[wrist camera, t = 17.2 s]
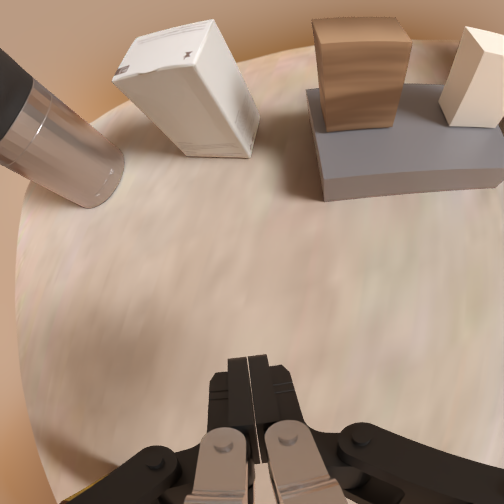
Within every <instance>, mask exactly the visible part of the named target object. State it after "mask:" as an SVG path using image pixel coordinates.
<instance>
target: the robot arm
mask: <svg viewBox="0 0 504 504" xmlns="http://www.w3.org/2000/svg"><path fill="white" fill-rule="evenodd" d="M0 164H1V165H2V166H5V167H6V168H8V169H10V170H12V171H14V172H16V173H18V174H20V175H22V176H23V177H25V178H27V179H29V180H31V181H33V182H35V183H37V184H39V185H41V186H43V187H45V188H46V189H48V190H50V191H52V192H54V193H56V194H58V195H60V196H62V197H64V198H66V199H68V200H70V201H72V202H74V203H76V204H78V205H80V206H82V207H84V208H93V207H96V206H98V205H100V204H101V203H103V202H104V201H105V200H106V199H108V198H109V197H110V195H111V194H112V193H113V192H114V190H115V189H116V187H117V185H118V184H119V182H120V179H121V177H122V173H123V170H124V157H123V154H122V152H121V151H120V150H119V149H118V148H117V147H116V146H115V145H114V144H112V143H111V142H110V141H109V140H107V139H106V138H105V137H104V136H103V135H102V134H100V133H99V132H98V131H97V130H96V129H94V128H93V127H92V126H91V125H90V124H88V123H87V122H86V121H85V120H84V119H82V118H81V117H80V116H79V115H77V114H76V113H75V112H74V111H73V110H71V109H70V108H69V107H68V106H67V105H65V104H64V103H63V102H62V101H61V100H59V99H58V98H57V97H56V96H54V94H52V93H51V92H50V91H48V90H47V89H46V88H45V87H44V86H42V85H41V84H40V83H39V82H38V81H37V80H35V79H34V78H33V77H32V76H31V75H29V74H28V73H27V72H26V71H25V70H24V69H22V68H21V67H20V66H19V65H18V64H17V63H16V62H15V61H14V60H13V59H12V58H11V57H10V56H9V55H8V54H6V53H5V52H4V51H2V49H1V48H0ZM248 362H249V370H250V378H249V372H248V365H247V358H246V357H240V358H231V359H228V372H218V373H215V375H214V376H213V378H212V379H211V381H210V387H209V405H208V425H207V434H206V435H204V437H203V438H202V440H201V442H200V443H199V444H198V445H196V446H195V447H193V448H190V449H187V450H183V451H179V452H176V453H174V452H173V451H172V450H171V449H169V448H167V447H164V446H150V447H146V448H144V449H143V450H141V451H140V452H138V453H137V454H136V455H134V456H133V457H132V458H130V459H129V460H128V461H126V462H125V463H124V464H122V465H121V466H120V467H118V468H117V469H115V470H114V471H113V472H111V473H110V474H108V475H107V476H106V477H104V478H103V479H101V480H100V481H99V482H97V483H96V484H94V485H93V486H91V487H90V488H88V489H87V490H85V491H84V492H82V493H81V494H79V495H78V496H76V497H75V498H73V499H72V500H70V501H69V502H67V503H65V504H255V468H254V464H260V458H259V450H258V442H257V435H258V441H259V447H260V453H261V460H262V463H268V468H269V474H270V481H271V485H272V489H273V493H274V497H275V501H276V504H348V503H347V500H346V498H348V499H350V500H352V501H354V502H356V503H358V504H504V469H501V468H497V467H493V466H490V465H486V464H482V463H479V462H475V461H472V460H468V459H465V458H462V457H459V456H455V455H452V454H449V453H446V452H443V451H440V450H437V449H434V448H432V447H429V446H426V445H423V444H420V443H418V442H415V441H412V440H410V439H407V438H405V437H402V436H400V435H397V434H395V433H392V432H390V431H387V430H385V429H382V428H380V427H378V426H375V425H373V424H370V423H364V422H361V423H354V424H351V425H349V426H347V427H345V428H344V429H343V430H342V431H341V433H324V432H319V431H316V430H314V429H312V428H310V427H309V426H308V425H307V424H306V423H305V422H304V419H303V416H302V413H301V410H300V406H299V403H298V399H297V396H296V392H295V389H294V386H293V383H292V379H291V375H290V372H289V371H288V370H287V369H286V368H285V367H284V366H282V365H277V366H270V367H269V364H268V359H267V355H266V354H264V355H256V356H248ZM250 379H251V385H250ZM251 388H252V393H251ZM252 396H253V401H252ZM253 405H254V409H253ZM254 413H255V417H254ZM255 421H256V426H255ZM256 428H257V434H256ZM345 497H346V498H345Z"/></svg>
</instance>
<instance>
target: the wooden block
mask: <svg viewBox="0 0 504 504" xmlns="http://www.w3.org/2000/svg"><path fill="white" fill-rule="evenodd" d="M438 102H439V104H440V106H441V109H442V111H443V113H444V115H445V117H446V120H447V122H448V124H449V126H462V127H485V128H496V126H497V125H498V124H499V122H500V121H501V119H502V118H503V116H504V35H501V34H497V33H493V32H489V31H485V30H481V29H476V28H472V27H467V26H465V28H464V31H463V35H462V37H461V41H460V44H459V47H458V50H457V53H456V56H455V59H454V61H453V64H452V67H451V70H450V73H449V75H448V78H447V81H446V83H445V86H444V88H443V91H442V94H441V96H440V99H439V101H438Z"/></svg>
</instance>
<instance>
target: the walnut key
mask: <svg viewBox="0 0 504 504" xmlns="http://www.w3.org/2000/svg"><path fill="white" fill-rule="evenodd" d="M312 27H313V34H314V43H315V51H316V60H317V70H318V80H319V91H320V104H321V110H322V114H323V118H324V122H325V126H326V131H327V132H333V131H343V130H354V129H367V128H383V127H393V123H394V120H395V116H396V112H397V108H398V104H399V101H400V97H401V93H402V88H403V84H404V80H405V76H406V71H407V67H408V62H409V57H410V53H411V48H412V41H411V39H410V38H409V36H408V35H407V33H406V32H405V30H404V29H403V28H402V26H401V24H400V23H399V22H398V20H397V19H396V18H391V17H342V18H325V19H314V20H312Z"/></svg>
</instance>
